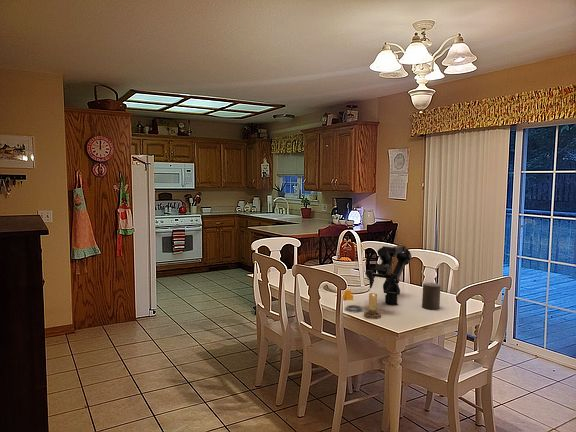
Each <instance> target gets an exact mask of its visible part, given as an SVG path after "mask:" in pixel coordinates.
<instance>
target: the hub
mask: <svg viewBox="0 0 576 432" xmlns="http://www.w3.org/2000/svg"><path fill="white" fill-rule="evenodd" d="M344 310H345V311H346V312H348V311H349V313H362V312H363V311H364V307H362V306H360V305H356V304H349V305H347V306H345V307H344Z"/></svg>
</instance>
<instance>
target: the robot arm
mask: <svg viewBox="0 0 576 432" xmlns="http://www.w3.org/2000/svg"><path fill="white" fill-rule="evenodd" d="M376 253H377V255H378V257H379V259H380V261H381V263H376V264H375V270H376V273H375V271H374V270H373V269H371V270H370V269H367V270H366V271H365V276H366V279H368V280H369V289H372V287H373V285H374V281H375V278H381V279H385V280H384V283H383V285H382V289H383V293H384V294H385V296H384V297H385V298H384V303H385V305H389V306H398V304H399V303H398V295H399V296H400V294H401V288H400V286H399V284H400V281H401V280H400V277H401V276H402V275H401V274H402V273H403V271H404V268H405V267H406V266H407V265H409V264H410V263H411V261H412V253H411V251H410V250H409V249H407V246H406V245H403V244H402V245H401V244H399V245H398V244H397V245H396V246H386V245H385V246H382V247H380V248H378V250H377V252H376ZM393 258H396V260H397V262H396V264H395V267H394V269H393V271H392V272H391V267H392V264H394V259H393ZM390 272H391V273H390ZM389 273H390V274H389Z"/></svg>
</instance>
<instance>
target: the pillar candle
mask: <svg viewBox="0 0 576 432" xmlns="http://www.w3.org/2000/svg"><path fill="white" fill-rule="evenodd" d="M421 299H422V301H421V308H423V309H424V310H425V309H426V310H430V311H438V310H440V305H441V284H440V283H435V282H424V283H423V284H422V298H421Z"/></svg>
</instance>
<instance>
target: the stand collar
mask: <svg viewBox="0 0 576 432" xmlns="http://www.w3.org/2000/svg"><path fill="white" fill-rule="evenodd" d="M368 311H369V310H367V311H364V313H363V315H364V318H367V319H371V320H372V319H373V320H375V319H381V318H382V313H381V312H379V311H377V315H368Z"/></svg>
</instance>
